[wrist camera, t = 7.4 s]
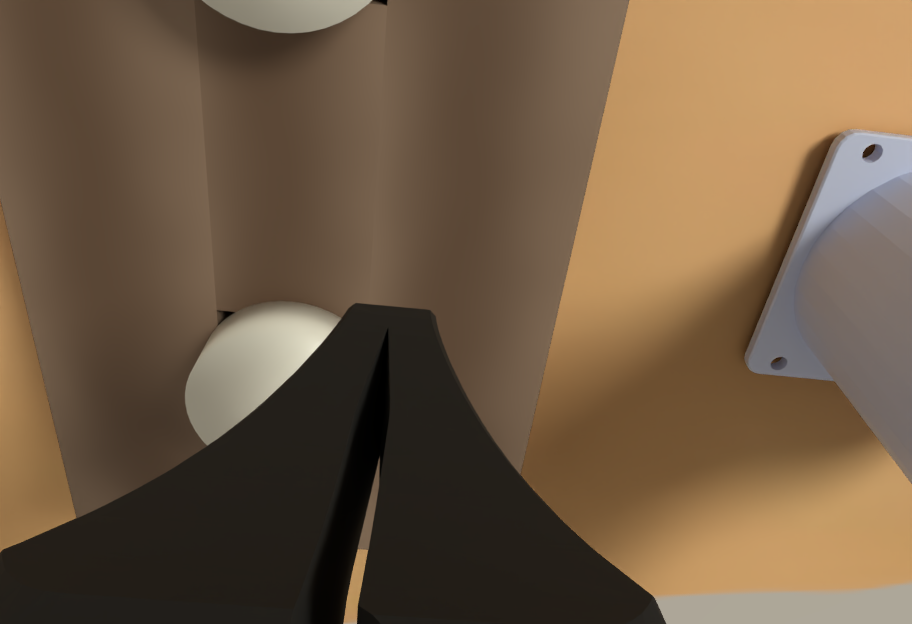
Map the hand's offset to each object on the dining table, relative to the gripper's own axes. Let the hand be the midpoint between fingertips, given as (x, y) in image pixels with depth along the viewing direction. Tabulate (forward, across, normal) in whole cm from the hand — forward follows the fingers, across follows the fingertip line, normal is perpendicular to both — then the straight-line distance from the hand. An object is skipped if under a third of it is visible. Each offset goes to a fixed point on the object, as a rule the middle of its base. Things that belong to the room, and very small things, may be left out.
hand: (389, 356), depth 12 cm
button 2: (+9, +3, +6) cm, 11 cm away
